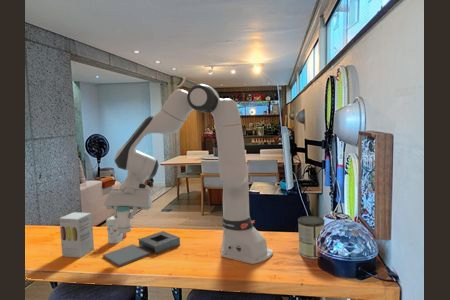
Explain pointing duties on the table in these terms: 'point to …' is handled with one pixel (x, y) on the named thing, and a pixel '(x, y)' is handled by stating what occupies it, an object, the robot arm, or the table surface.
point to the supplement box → (76, 234)
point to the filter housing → (159, 242)
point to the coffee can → (309, 235)
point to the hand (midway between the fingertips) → (123, 217)
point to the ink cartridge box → (114, 231)
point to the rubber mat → (126, 255)
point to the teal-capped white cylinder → (123, 219)
